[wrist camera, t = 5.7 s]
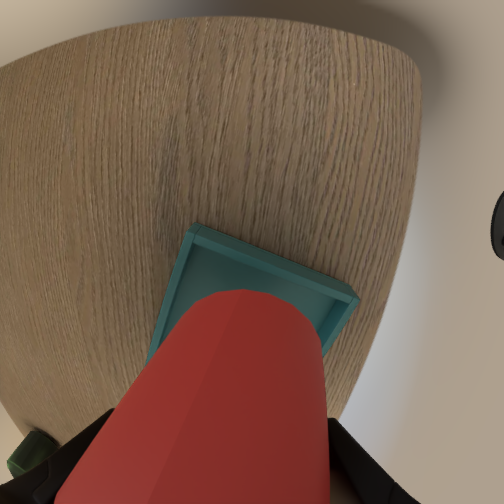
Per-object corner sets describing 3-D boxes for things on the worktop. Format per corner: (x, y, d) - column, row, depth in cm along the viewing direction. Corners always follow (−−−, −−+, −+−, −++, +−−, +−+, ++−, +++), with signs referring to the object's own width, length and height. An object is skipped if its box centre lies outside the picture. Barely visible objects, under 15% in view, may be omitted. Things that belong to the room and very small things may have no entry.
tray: (349, 284, 20) (360, 299, 18) (279, 393, 24) (282, 412, 22) (194, 221, 19) (186, 230, 16) (152, 351, 22) (143, 369, 20)
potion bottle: (21, 421, 29) (-19, 484, 12) (49, 434, 29) (10, 507, 12) (41, 447, 32) (9, 507, 15) (70, 459, 32) (40, 527, 14)
